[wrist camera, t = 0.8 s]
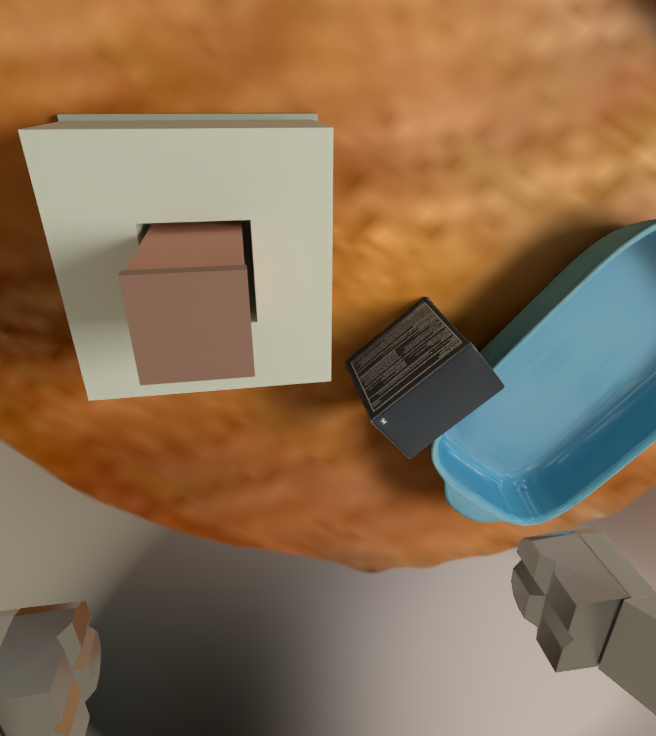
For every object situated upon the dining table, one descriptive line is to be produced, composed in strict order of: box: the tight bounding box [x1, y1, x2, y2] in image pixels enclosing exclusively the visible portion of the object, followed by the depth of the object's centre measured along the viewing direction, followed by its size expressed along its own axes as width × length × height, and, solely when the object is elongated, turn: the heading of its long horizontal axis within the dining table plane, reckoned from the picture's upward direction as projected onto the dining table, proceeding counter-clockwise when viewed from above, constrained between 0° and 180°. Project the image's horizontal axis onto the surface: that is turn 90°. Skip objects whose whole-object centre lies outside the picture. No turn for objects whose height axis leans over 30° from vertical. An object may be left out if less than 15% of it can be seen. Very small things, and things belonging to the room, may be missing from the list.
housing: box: [18, 113, 333, 401], centre depth 39 cm, size 19×19×10 cm
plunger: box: [118, 220, 255, 386], centre depth 32 cm, size 6×6×12 cm
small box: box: [345, 297, 505, 459], centre depth 47 cm, size 11×6×10 cm, turn 130°
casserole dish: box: [430, 219, 656, 525], centre depth 53 cm, size 37×22×7 cm, turn 138°
